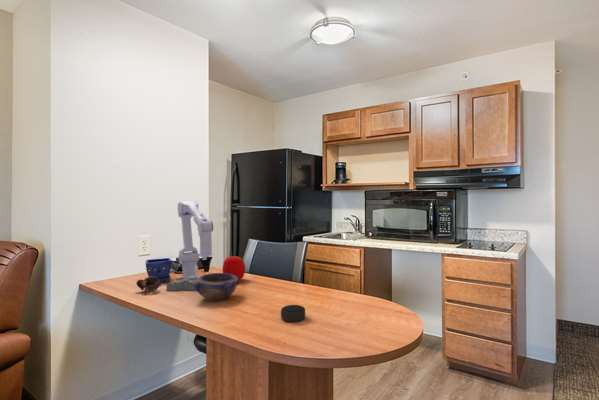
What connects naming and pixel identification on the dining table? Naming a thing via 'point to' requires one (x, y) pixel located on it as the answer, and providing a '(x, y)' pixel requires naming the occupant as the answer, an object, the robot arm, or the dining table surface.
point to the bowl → (216, 285)
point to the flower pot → (159, 269)
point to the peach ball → (179, 279)
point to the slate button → (192, 279)
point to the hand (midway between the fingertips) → (206, 271)
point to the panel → (180, 286)
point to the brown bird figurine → (148, 284)
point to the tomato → (234, 266)
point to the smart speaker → (293, 313)
